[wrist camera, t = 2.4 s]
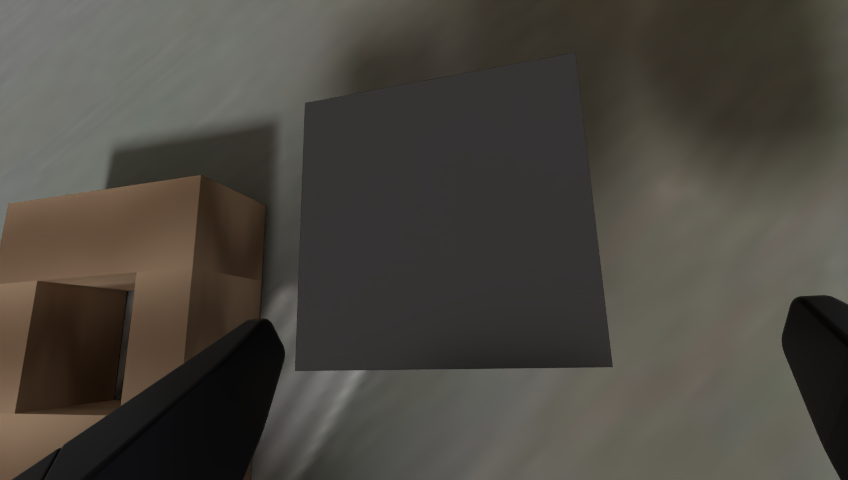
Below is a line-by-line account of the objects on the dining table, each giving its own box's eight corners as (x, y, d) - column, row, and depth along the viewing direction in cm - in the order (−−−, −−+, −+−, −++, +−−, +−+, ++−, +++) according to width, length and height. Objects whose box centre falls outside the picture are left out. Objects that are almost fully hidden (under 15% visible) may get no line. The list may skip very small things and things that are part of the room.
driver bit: (567, 346, 16) (612, 367, 4) (477, 348, 16) (295, 371, 5) (559, 257, 16) (575, 52, 5) (473, 263, 17) (304, 103, 6)
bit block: (235, 741, 16) (137, 866, 12) (30, 692, 18) (-103, 782, 15) (266, 205, 20) (201, 174, 17) (97, 226, 23) (8, 203, 19)
